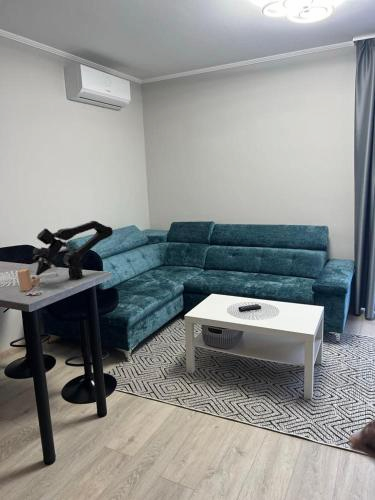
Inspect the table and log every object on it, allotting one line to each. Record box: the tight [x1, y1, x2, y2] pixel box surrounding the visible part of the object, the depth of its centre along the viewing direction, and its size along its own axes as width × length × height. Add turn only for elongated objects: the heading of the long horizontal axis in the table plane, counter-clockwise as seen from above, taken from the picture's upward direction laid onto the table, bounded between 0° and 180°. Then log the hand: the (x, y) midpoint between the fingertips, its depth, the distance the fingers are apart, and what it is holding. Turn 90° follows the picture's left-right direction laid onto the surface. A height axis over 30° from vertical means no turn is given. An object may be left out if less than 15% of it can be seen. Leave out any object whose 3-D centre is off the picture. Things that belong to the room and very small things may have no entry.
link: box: [16, 268, 41, 292], centre depth 190 cm, size 14×5×10 cm, turn 0°
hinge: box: [25, 261, 58, 280], centre depth 210 cm, size 17×5×10 cm, turn 111°
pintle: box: [32, 277, 41, 287], centre depth 195 cm, size 6×6×4 cm
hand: (36, 275), depth 187 cm, fingers closed
